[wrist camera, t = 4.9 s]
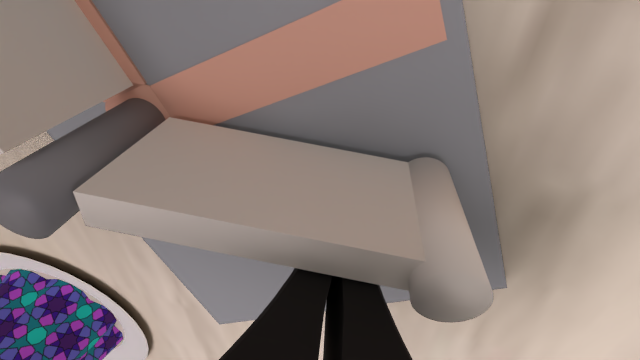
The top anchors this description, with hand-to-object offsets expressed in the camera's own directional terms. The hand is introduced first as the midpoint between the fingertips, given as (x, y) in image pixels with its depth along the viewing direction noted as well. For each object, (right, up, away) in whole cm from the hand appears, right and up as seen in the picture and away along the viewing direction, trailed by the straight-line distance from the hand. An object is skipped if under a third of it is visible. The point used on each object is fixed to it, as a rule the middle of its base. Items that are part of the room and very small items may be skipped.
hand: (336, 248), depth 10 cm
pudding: (-17, -6, +10) cm, 20 cm away
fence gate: (-1, +3, 0) cm, 3 cm away
